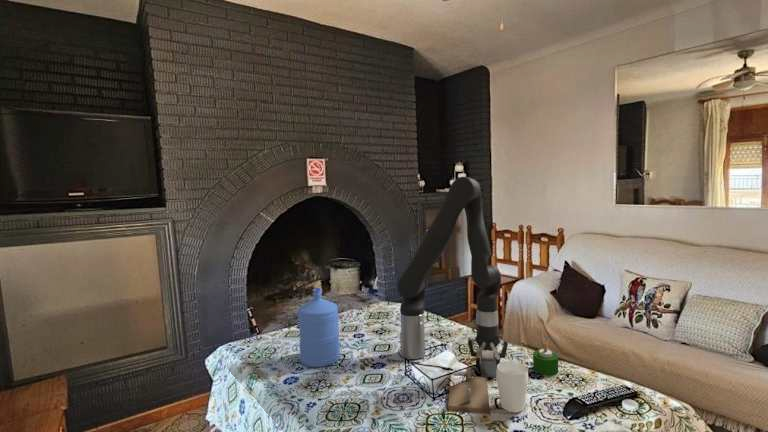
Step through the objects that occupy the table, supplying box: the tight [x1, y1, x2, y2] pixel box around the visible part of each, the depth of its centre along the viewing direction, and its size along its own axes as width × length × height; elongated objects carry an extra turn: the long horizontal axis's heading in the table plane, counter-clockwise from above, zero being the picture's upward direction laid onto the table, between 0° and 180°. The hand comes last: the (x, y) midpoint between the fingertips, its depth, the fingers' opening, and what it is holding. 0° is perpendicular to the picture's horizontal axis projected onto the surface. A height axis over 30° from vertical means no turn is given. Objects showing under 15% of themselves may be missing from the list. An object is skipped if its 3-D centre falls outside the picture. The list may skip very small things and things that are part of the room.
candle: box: [532, 342, 559, 377], centre depth 137 cm, size 8×8×10 cm
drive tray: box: [447, 367, 491, 414], centre depth 123 cm, size 12×19×5 cm, turn 168°
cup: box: [496, 360, 529, 414], centre depth 115 cm, size 9×9×12 cm
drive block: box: [480, 350, 497, 379], centre depth 138 cm, size 5×10×6 cm, turn 168°
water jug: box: [297, 287, 341, 368], centre depth 151 cm, size 16×16×28 cm
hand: (487, 367), depth 138 cm, fingers open, 5 cm apart
